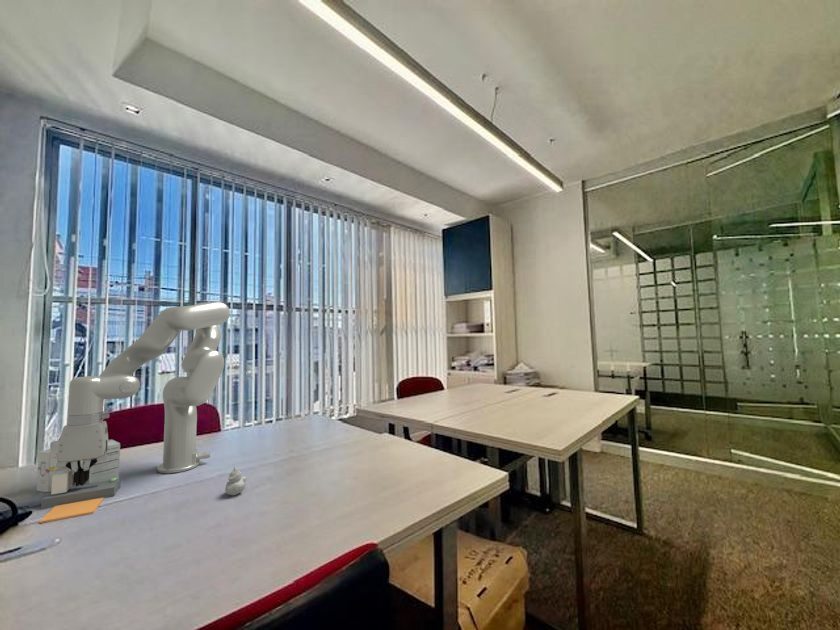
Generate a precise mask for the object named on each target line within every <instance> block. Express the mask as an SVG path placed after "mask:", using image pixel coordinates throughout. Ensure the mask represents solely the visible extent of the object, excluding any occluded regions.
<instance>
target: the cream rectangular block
mask: <svg viewBox="0 0 840 630" xmlns="http://www.w3.org/2000/svg"><path fill="white" fill-rule="evenodd" d="M72 486H73V484H72V470H71V469H70V470H63V471H58V472H57V473H55V474H54V475H53V476H52V489H51V495H52V494H58V493H64V492H67V491H68V490H69V489H70V488H71V487H72Z"/></svg>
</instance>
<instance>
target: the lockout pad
mask: <svg viewBox="0 0 840 630" xmlns="http://www.w3.org/2000/svg"><path fill="white" fill-rule="evenodd" d="M104 499H105V498H104V497H103V498H98V499H92V500H86V501H81V502H75V503H70V504H64V505H58V506H55V507H52V508H51V510H50V511H49V512H47V514H45V515H44V516H43V518H42V519H41V520H39V525H40V523H41V524H45V523H50V522H55V521H60V520H61V521H62V520H65V519H71V518H76V517H81V516H87V515H92V514H94V513H95V512H96V510H97V509H98V507H100V505H101V503H102V502H103V501H104Z"/></svg>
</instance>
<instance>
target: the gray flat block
mask: <svg viewBox="0 0 840 630" xmlns="http://www.w3.org/2000/svg"><path fill="white" fill-rule="evenodd" d="M121 481H122V480H121V478H119V479H117V478H116V477H114V478H111V479H110V480H109V481H103V482H96V483H90V484H84V485H82V486H81V485H79V486H75V485H72V487H71V488H70V489H69V490H68V491H67V492H64V493H58V494H52V495H51V492H47V494H46V495H45V496H44V497H43V498H41V500H40V503H41V504H40V509H41V510H44V509H49V508H54V507H55V506H58V505H64V504H70V503H75V502H81V501H86V500H92V499H98V498H103V497H104V499H105V498H111V497H112V498H113V497H115V495H116V494H117V492H118V490H119V489H120V488H121Z"/></svg>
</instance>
